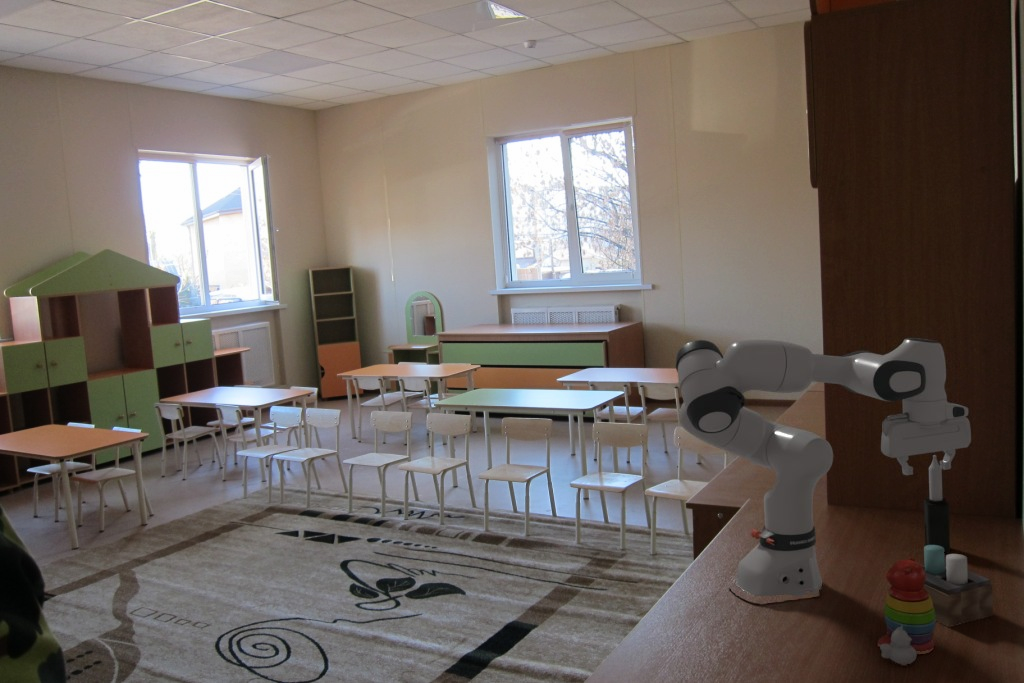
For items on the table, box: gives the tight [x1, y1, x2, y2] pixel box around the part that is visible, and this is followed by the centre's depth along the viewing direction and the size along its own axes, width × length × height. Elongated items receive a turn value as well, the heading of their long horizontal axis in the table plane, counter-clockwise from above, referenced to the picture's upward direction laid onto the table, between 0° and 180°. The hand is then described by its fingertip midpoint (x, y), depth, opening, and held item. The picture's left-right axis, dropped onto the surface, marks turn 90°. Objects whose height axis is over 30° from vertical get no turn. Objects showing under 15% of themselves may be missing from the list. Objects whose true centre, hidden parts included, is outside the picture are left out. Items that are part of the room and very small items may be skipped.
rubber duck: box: [879, 625, 918, 664], centre depth 167 cm, size 5×7×8 cm
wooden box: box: [921, 560, 994, 626], centre depth 187 cm, size 12×13×8 cm
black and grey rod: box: [923, 454, 951, 553], centre depth 219 cm, size 5×5×25 cm
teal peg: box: [923, 545, 946, 576], centre depth 189 cm, size 4×4×8 cm
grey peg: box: [945, 553, 968, 586], centre depth 183 cm, size 4×4×8 cm
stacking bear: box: [877, 556, 936, 652], centre depth 173 cm, size 11×10×18 cm
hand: (926, 471), depth 190 cm, fingers open, 8 cm apart
